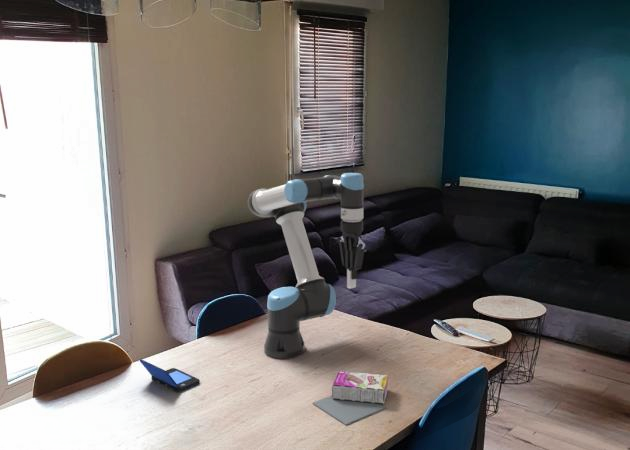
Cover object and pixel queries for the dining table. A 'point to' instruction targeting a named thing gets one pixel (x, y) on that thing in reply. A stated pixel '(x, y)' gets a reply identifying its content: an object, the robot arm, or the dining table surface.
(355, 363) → the dining table surface
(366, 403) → the mat
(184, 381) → the handheld game console
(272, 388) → the dining table surface
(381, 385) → the candy bar box
